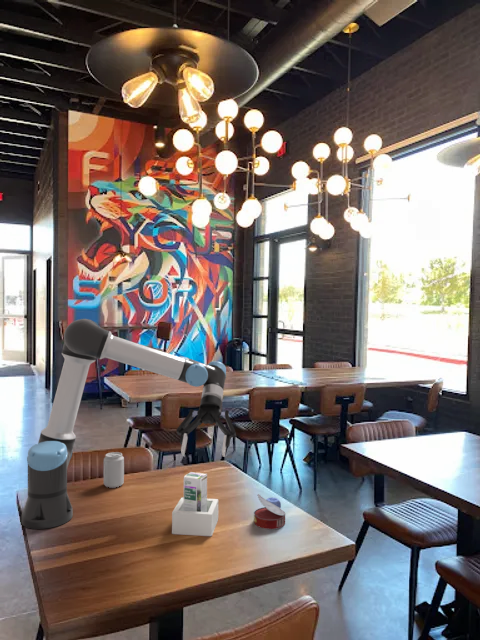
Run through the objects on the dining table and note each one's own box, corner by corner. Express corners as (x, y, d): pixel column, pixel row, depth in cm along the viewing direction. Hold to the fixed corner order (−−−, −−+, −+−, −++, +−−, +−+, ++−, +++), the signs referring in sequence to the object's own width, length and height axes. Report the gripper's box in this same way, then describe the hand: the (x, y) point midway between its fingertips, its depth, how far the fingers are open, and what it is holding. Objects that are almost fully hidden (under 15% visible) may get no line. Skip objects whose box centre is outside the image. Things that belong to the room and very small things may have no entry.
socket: (211, 536, 145) (211, 514, 145) (172, 533, 146) (172, 512, 146) (218, 519, 157) (218, 499, 157) (181, 517, 158) (181, 497, 158)
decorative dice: (273, 514, 161) (273, 502, 161) (264, 511, 163) (264, 499, 163) (281, 511, 164) (281, 499, 164) (271, 508, 166) (271, 496, 166)
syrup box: (182, 523, 150) (182, 476, 150) (190, 516, 155) (191, 470, 155) (199, 526, 148) (199, 478, 148) (207, 519, 153) (207, 472, 153)
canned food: (262, 530, 160) (267, 498, 164) (289, 535, 154) (294, 502, 158) (243, 524, 152) (249, 491, 156) (271, 529, 146) (276, 494, 150)
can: (112, 490, 182) (112, 458, 182) (99, 485, 186) (99, 454, 186) (128, 484, 188) (128, 453, 188) (115, 480, 192) (115, 450, 192)
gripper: (247, 407, 176) (241, 461, 162) (179, 404, 180) (167, 457, 165) (245, 394, 171) (239, 449, 156) (175, 392, 174) (163, 446, 160)
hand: (202, 453), depth 161 cm, fingers open, 13 cm apart
